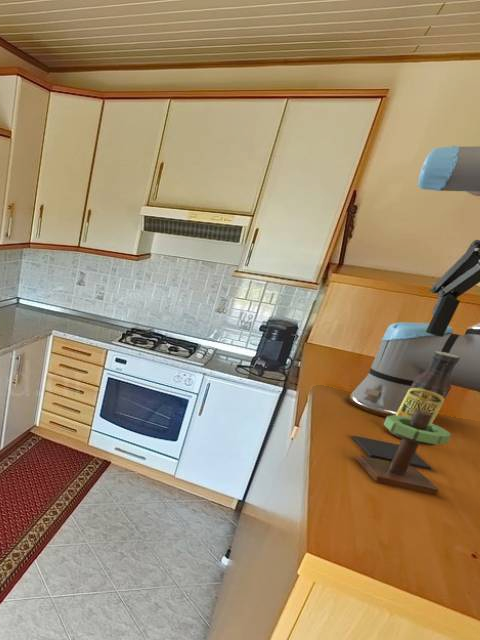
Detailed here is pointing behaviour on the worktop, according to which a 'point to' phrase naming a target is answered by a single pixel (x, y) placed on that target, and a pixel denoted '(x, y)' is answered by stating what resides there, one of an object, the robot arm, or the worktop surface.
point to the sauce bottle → (430, 387)
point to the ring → (417, 430)
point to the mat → (386, 451)
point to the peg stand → (402, 461)
